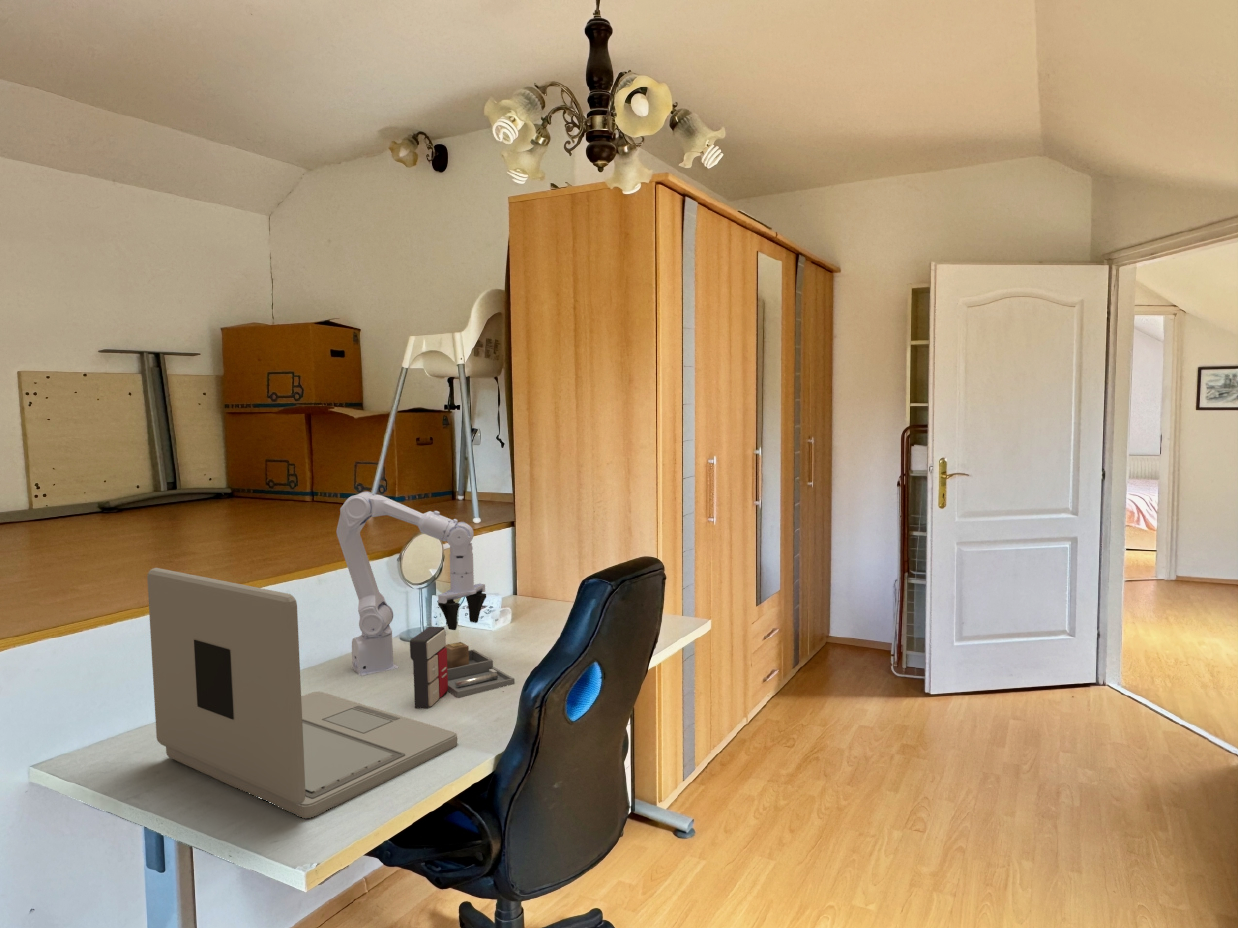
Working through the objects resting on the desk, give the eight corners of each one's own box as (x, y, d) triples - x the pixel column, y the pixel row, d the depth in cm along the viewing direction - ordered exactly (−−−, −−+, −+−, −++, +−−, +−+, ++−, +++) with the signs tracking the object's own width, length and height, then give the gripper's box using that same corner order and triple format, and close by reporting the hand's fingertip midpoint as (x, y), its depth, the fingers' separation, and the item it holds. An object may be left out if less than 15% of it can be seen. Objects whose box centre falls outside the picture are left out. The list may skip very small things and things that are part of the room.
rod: (457, 689, 179) (458, 684, 178) (454, 685, 180) (455, 680, 179) (497, 680, 185) (498, 675, 184) (494, 676, 186) (495, 671, 185)
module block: (451, 674, 188) (450, 648, 188) (444, 669, 192) (443, 643, 191) (469, 670, 191) (468, 644, 190) (461, 665, 194) (460, 640, 194)
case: (438, 684, 183) (437, 671, 183) (420, 672, 192) (420, 660, 192) (493, 672, 191) (492, 660, 191) (473, 661, 200) (473, 649, 200)
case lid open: (457, 698, 174) (457, 691, 174) (438, 684, 183) (438, 678, 183) (514, 685, 182) (514, 678, 182) (493, 672, 191) (493, 666, 191)
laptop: (461, 747, 149) (455, 559, 146) (297, 829, 120) (286, 597, 118) (318, 702, 173) (311, 540, 171) (154, 761, 145) (142, 568, 143)
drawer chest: (431, 710, 167) (428, 640, 166) (411, 709, 168) (409, 640, 167) (450, 691, 178) (447, 626, 177) (431, 691, 179) (429, 626, 178)
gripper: (452, 579, 188) (454, 635, 189) (493, 568, 200) (495, 621, 201) (431, 576, 192) (433, 630, 193) (473, 565, 204) (474, 617, 205)
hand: (463, 625), depth 197 cm, fingers open, 7 cm apart
